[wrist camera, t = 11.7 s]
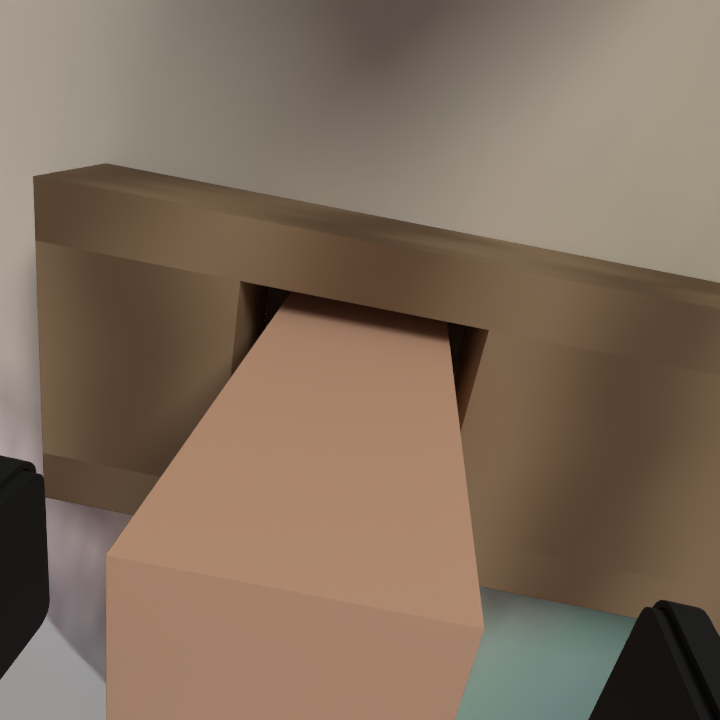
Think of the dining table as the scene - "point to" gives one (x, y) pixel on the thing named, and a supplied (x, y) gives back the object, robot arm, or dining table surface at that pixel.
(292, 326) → the peg
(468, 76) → the dining table surface
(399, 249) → the rail
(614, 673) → the robot arm
